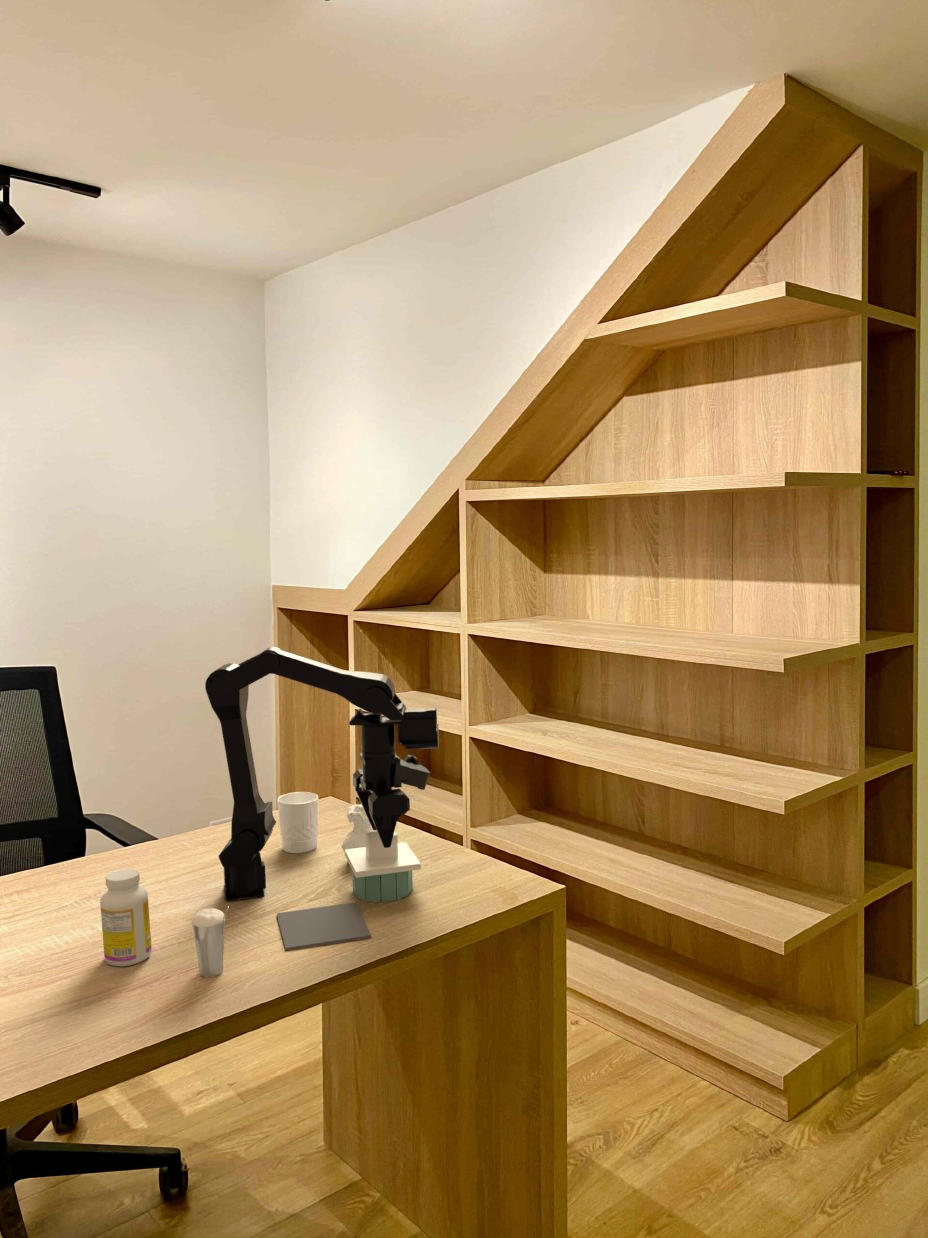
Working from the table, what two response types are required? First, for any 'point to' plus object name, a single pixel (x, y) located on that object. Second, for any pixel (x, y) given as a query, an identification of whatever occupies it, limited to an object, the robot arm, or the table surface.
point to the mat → (322, 926)
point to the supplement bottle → (125, 919)
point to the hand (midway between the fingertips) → (381, 838)
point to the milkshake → (209, 941)
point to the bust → (357, 828)
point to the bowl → (383, 886)
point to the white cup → (298, 821)
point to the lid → (381, 857)
